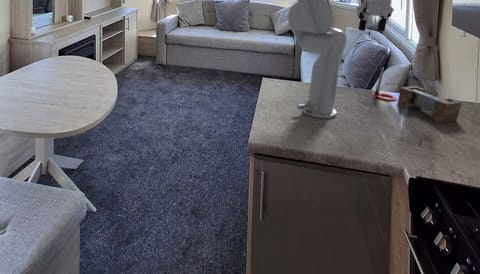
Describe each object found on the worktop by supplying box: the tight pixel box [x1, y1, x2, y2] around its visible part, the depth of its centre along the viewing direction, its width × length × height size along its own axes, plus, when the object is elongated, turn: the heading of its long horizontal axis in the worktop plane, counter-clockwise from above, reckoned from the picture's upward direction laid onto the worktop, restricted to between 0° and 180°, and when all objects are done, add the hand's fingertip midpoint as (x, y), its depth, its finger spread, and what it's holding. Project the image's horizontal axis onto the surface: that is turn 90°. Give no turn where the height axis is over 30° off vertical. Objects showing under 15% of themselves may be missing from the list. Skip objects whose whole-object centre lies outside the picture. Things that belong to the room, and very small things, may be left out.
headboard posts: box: [397, 85, 463, 124], centre depth 154 cm, size 22×8×8 cm, turn 26°
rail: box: [411, 89, 449, 112], centre depth 154 cm, size 17×3×5 cm, turn 26°
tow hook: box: [373, 67, 397, 102], centre depth 168 cm, size 8×13×9 cm
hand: (371, 30), depth 154 cm, fingers open, 9 cm apart
